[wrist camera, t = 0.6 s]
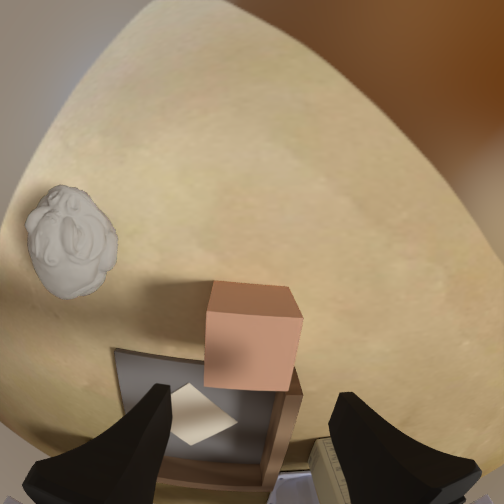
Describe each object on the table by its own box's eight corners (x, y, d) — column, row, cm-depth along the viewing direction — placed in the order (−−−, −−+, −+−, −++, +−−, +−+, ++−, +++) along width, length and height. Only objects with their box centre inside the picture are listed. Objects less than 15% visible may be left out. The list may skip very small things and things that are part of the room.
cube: (278, 349, 21) (288, 391, 16) (210, 344, 20) (203, 386, 15) (288, 286, 20) (303, 318, 15) (214, 280, 19) (206, 311, 14)
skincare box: (306, 461, 24) (328, 554, 12) (315, 437, 23) (344, 540, 11) (361, 453, 24) (395, 536, 13) (373, 429, 24) (417, 518, 12)
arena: (269, 466, 24) (272, 491, 21) (137, 452, 23) (129, 476, 20) (294, 366, 21) (303, 395, 18) (116, 348, 20) (99, 372, 17)
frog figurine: (151, 200, 18) (104, 210, 11) (121, 293, 19) (76, 340, 12) (79, 171, 17) (15, 170, 10) (56, 260, 18) (-2, 290, 12)
